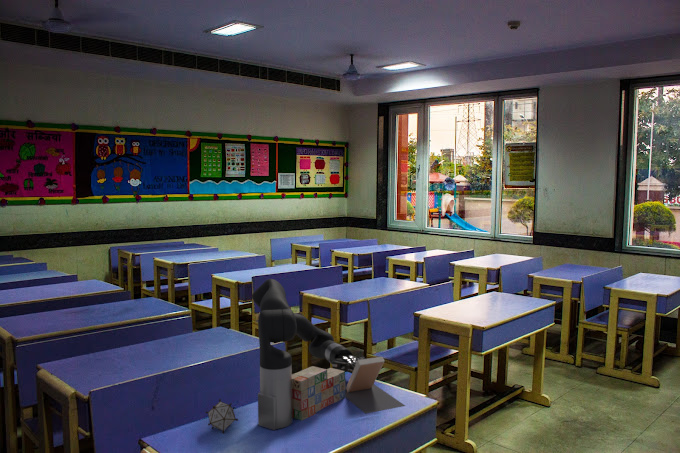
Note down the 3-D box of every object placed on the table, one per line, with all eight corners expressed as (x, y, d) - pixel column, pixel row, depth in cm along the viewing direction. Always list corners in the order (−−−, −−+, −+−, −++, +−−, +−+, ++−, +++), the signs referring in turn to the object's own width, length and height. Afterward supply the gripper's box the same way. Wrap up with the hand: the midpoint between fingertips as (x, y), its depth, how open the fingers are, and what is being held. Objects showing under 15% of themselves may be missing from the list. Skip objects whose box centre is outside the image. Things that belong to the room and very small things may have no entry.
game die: (218, 440, 156) (214, 405, 161) (244, 431, 155) (240, 396, 160) (202, 436, 149) (198, 400, 154) (229, 427, 147) (225, 391, 152)
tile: (345, 387, 182) (357, 360, 173) (369, 383, 186) (382, 356, 177) (348, 393, 181) (360, 365, 172) (372, 388, 184) (385, 361, 175)
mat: (336, 391, 183) (336, 390, 183) (373, 385, 189) (373, 383, 189) (365, 415, 164) (365, 413, 164) (405, 407, 170) (405, 405, 170)
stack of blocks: (330, 394, 181) (330, 358, 180) (345, 399, 177) (345, 362, 176) (285, 416, 164) (285, 376, 163) (301, 421, 160) (301, 380, 159)
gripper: (321, 347, 195) (341, 361, 179) (354, 343, 200) (377, 356, 185) (321, 368, 195) (342, 384, 180) (354, 363, 201) (377, 378, 185)
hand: (359, 370), depth 182 cm, fingers closed
